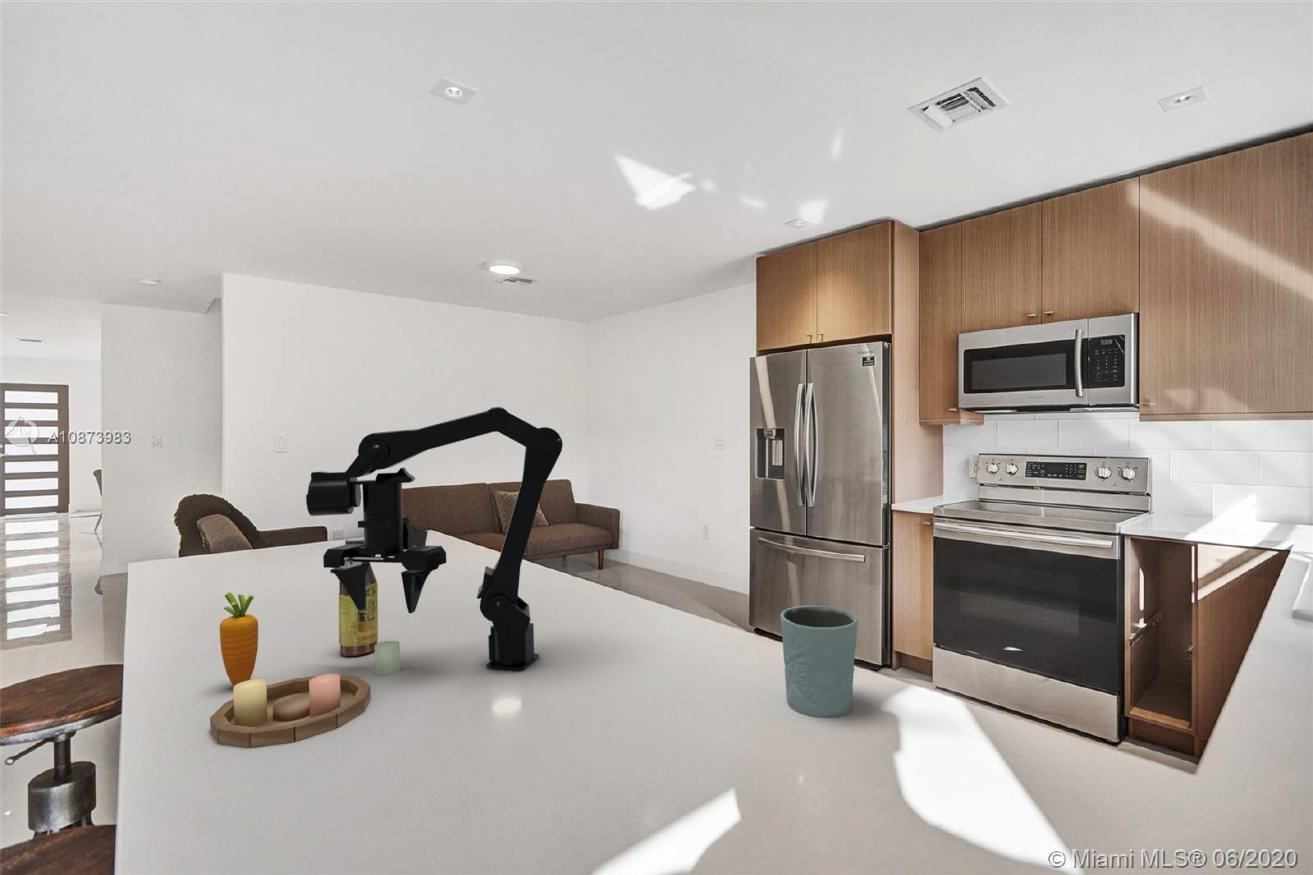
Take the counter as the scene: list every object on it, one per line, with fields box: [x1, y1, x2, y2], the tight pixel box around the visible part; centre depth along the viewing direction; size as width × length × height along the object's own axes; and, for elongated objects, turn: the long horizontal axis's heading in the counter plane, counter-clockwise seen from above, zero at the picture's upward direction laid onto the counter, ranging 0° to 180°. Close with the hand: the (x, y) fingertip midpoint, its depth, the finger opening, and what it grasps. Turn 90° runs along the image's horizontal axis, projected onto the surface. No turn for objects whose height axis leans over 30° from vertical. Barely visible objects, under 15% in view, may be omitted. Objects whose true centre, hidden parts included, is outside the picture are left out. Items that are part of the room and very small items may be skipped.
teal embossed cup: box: [780, 604, 858, 718], centre depth 85 cm, size 10×10×12 cm
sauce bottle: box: [338, 537, 379, 657], centre depth 112 cm, size 7×6×20 cm
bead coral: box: [309, 673, 341, 718], centre depth 84 cm, size 4×4×5 cm
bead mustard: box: [232, 678, 267, 727], centre depth 83 cm, size 4×4×5 cm
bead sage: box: [374, 640, 401, 676], centre depth 100 cm, size 4×4×5 cm
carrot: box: [219, 591, 259, 687], centre depth 95 cm, size 5×5×15 cm
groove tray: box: [209, 674, 372, 748], centre depth 85 cm, size 18×18×2 cm
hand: (386, 611), depth 100 cm, fingers open, 9 cm apart
